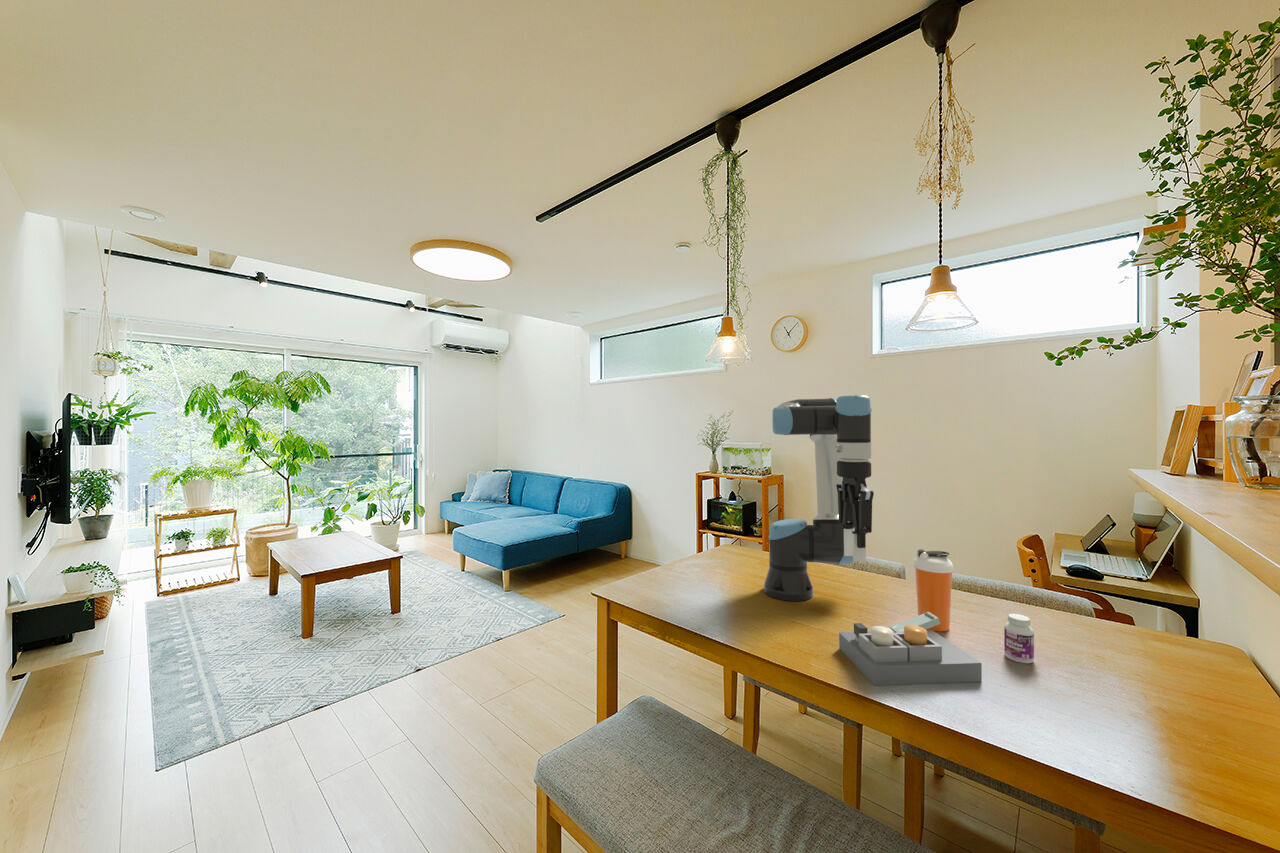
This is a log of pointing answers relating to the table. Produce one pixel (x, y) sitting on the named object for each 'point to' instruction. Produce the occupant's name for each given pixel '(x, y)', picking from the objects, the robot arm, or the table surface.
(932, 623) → the block
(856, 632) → the slider
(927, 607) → the shaker bottle
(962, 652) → the panel
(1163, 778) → the table surface
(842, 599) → the table surface
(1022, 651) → the pill bottle
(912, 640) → the button
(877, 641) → the button
